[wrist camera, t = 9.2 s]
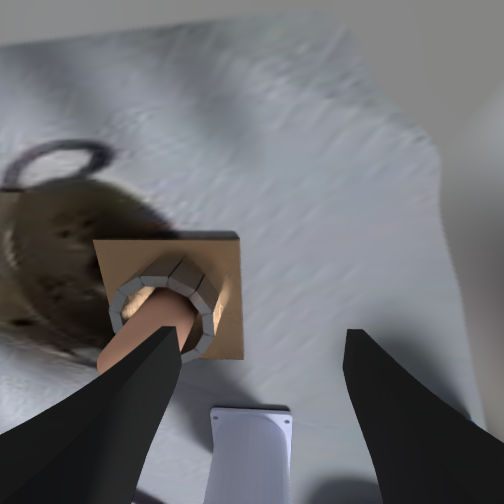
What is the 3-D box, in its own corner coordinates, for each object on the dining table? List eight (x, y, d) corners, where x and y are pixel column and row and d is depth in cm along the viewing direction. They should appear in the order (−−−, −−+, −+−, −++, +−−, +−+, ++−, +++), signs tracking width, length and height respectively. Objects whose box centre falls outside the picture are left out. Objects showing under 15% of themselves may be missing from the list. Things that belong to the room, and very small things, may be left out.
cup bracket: (244, 354, 23) (240, 383, 20) (125, 350, 24) (105, 377, 21) (239, 237, 19) (234, 253, 16) (97, 237, 20) (68, 252, 17)
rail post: (201, 325, 22) (170, 400, 15) (154, 322, 22) (104, 395, 16) (197, 282, 20) (162, 345, 14) (147, 280, 21) (89, 341, 14)
